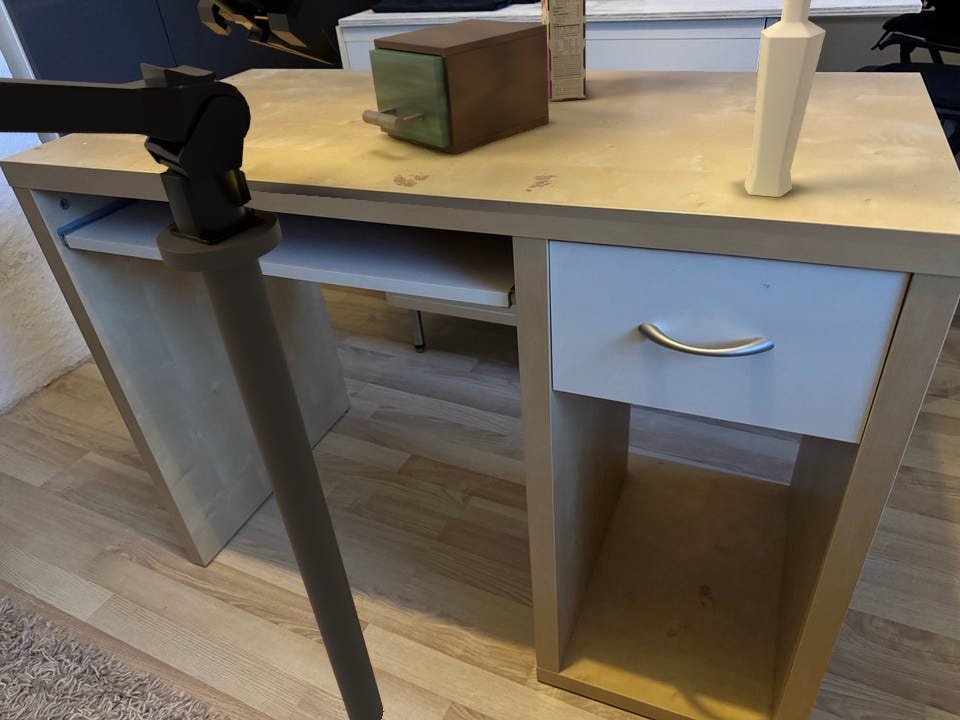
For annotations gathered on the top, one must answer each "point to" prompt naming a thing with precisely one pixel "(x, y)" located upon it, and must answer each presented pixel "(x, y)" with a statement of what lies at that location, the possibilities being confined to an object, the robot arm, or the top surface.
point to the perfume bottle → (782, 96)
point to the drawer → (410, 96)
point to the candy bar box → (565, 48)
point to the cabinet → (485, 77)
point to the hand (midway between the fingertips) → (334, 59)
